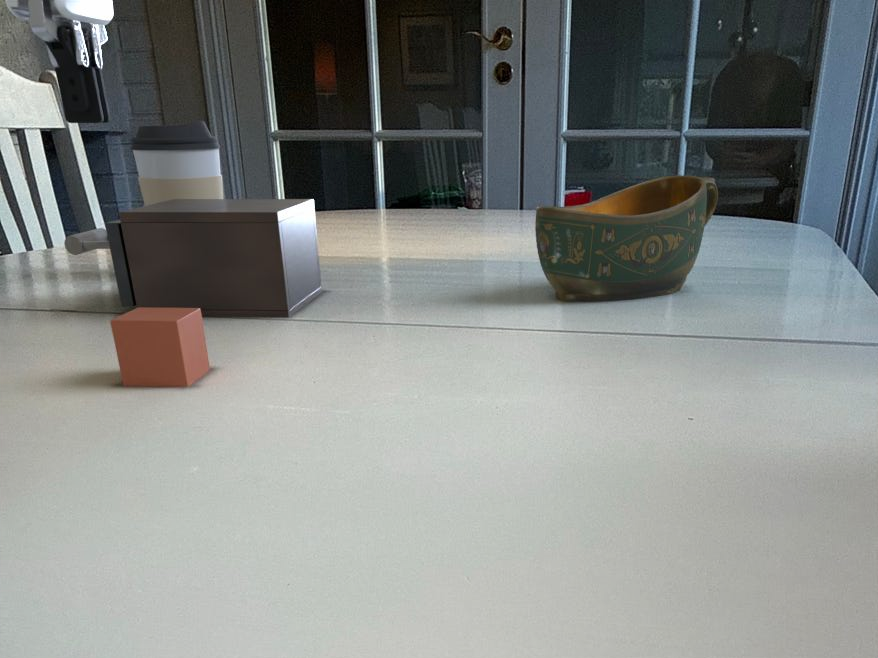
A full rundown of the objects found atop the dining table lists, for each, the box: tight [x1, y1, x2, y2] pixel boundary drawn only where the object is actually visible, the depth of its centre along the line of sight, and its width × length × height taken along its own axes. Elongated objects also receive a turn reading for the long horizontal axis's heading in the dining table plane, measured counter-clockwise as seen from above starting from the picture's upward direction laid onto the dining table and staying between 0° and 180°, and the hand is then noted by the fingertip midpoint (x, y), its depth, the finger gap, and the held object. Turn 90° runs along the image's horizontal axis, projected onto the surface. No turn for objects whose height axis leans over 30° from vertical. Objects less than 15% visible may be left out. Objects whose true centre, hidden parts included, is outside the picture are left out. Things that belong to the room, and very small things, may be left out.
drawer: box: [64, 218, 137, 308], centre depth 83 cm, size 18×11×7 cm, turn 85°
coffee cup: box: [130, 120, 224, 206], centre depth 96 cm, size 9×9×15 cm
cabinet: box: [118, 198, 323, 318], centre depth 82 cm, size 14×13×9 cm
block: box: [109, 307, 211, 388], centre depth 60 cm, size 4×4×4 cm
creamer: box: [534, 174, 719, 303], centre depth 86 cm, size 13×20×10 cm, turn 98°
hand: (88, 121), depth 78 cm, fingers closed
